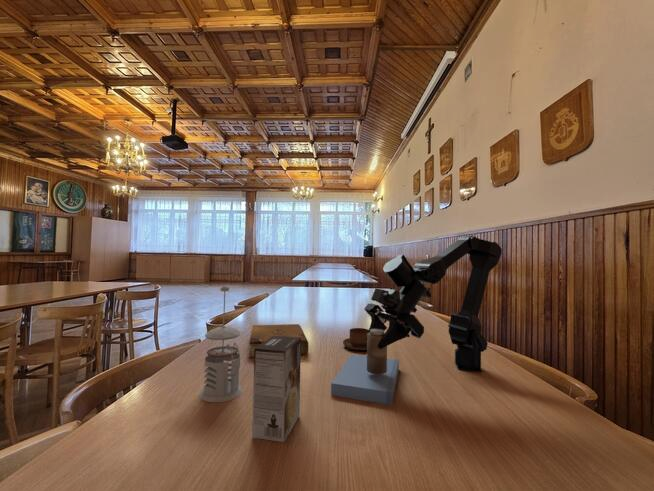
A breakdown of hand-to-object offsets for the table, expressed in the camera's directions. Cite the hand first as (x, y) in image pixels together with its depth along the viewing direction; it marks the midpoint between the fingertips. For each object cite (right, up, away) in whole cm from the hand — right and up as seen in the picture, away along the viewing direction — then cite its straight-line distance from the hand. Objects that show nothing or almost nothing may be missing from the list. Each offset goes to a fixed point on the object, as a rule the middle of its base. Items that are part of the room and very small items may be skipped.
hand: (372, 344), depth 76 cm
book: (-1, -11, +4) cm, 12 cm away
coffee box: (-21, -10, -18) cm, 30 cm away
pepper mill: (+1, -7, 0) cm, 7 cm away
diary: (-29, -12, +31) cm, 44 cm away
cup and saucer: (0, -12, +32) cm, 35 cm away
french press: (-36, -10, -5) cm, 38 cm away
